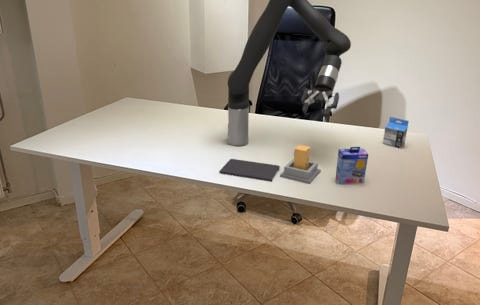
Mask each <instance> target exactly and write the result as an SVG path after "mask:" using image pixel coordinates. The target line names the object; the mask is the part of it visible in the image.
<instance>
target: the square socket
mask: <svg viewBox="0 0 480 305" xmlns="http://www.w3.org/2000/svg"><path fill="white" fill-rule="evenodd" d="M318 166H319V162H316V161H315V162H314V161H311V160H309V169H308V170H307V171H306V170H302V169H297V168H294V158H292V159H291V160H290V161H289V162H288V163H287V164H285V166H284V167H283V171H282V172H281V173H280V174H279V177H280V178H283V179H287V180H291V181H296V182H298V183H299V182H300V183H304V184H308V185H310V184H311V183H312V182H313V181H314V180H315V179H316V178H317V177H318V176H319V174H320V173H321V171H322V169H320V168H318Z"/></svg>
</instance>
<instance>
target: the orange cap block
mask: <svg viewBox="0 0 480 305" xmlns="http://www.w3.org/2000/svg"><path fill="white" fill-rule="evenodd" d="M310 155H311V146H307V145H302V144H299V145H298V146H295V148H294V152H293V159H294V168H297V169H302V170H306V171H307V170H308V169H309V161H310V159H311V158H310V157H311V156H310Z"/></svg>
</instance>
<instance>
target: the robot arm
mask: <svg viewBox="0 0 480 305" xmlns="http://www.w3.org/2000/svg"><path fill="white" fill-rule="evenodd" d="M288 7H290V8H292V9H293V11H295V13H297V15H298V16H299V17H300V18H301V20H302V21H303V22H304V24H306V26H307V27H308V28H309V29H310V30H311V31H312V33H313V34H314V35H315V36H316V37H317V38H318V39H319V40H321V41H325V40H328V41H329V42H328V44H327V45H326V46H325V51H324V53H325V54H324V61H323V63H322V66H321V68H320V71H319V73H318V75H317V78H316V81H315V84H314V86H313V89H312V90H311V89H309V88H307V87H306V88H305V89H304V91H303V93H302V96H301V97H300V101H301V104H302V105H303V106H302V113H303V114H304V115H306V114H307V112H308V109H309V105H311V104H314V103H315V102H316V103H322V104H324V103H325V104H326V107H325V111H324V113H323V116H324V118H327V117H329V116H330V114H331V110H332V109H333V110H335V109H337V107H338V103H339V99H340V94H339V92H335V93H333V92H334V89H335V86H336V84H337V82H338V81H337V80H338V77H339V73H340V69H341V66H342V59H341V57H340V56H342V55H343V54H345V53H347V52H348V51H349V50H350V49H351V47H352V42H351V40H350V37H349V36H347V34H345V33H344V32H343V31H341V30H339V29H338V28H336V27H334V26H333V25H332V24H331V23H330V22H329V21H328V20H327V18H325V16H324V15H323V14H322V13H321V12H320V11H319V10H318V9H317V8H315V6H313V4H312V3H311V2H309V1H308V0H269V1H268V3H267V5H266V6H265V9H264V10H263V12H262V14H261V15H260V17H259V18H258V20H257V21H256V23H255V25H254V26H253V29H252V30H251V33H250V35H249V36H248V39H247V41H246V43H245V46H244V49H243V51H242V56H241V57H240V60H239V62H238V64H237V65H236V67H235V69H234V70H233V71H232V72H230V74H229V75H228V78H227V89H228V90H227V91H228V92H227V93H228V94H227V95H228V96H227V97H228V98H227V99H228V100H227V107H228V109H227V112H228V113H227V116H228V117H227V121H228V122H227V144H228V145H231V146H234V147H243V146H246V145H248V144H249V121H250V120H249V116H250V112H249V111H250V110H249V109H250V107H249V105H250V102H249V101H250V82H251V80H252V78H253V75H254V72H255V70H256V69H257V67H258V65H259V63H260V62H261V61H262V59H263V58H264V56H265V55H266V52H267V51H268V49H269V47H270V46H271V44H272V42H273V40H274V38H275V36H276V34H277V31H278V30H279V29H278V28H279V26H280V23H281V21H282V18H283V16H284V14H285V13H286V11H287V9H288ZM331 98H332V99H333V101H332V103H331V102H330V99H331Z"/></svg>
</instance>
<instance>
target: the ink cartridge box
mask: <svg viewBox="0 0 480 305" xmlns="http://www.w3.org/2000/svg"><path fill="white" fill-rule="evenodd" d="M337 151H338V153H337V162H336V170H335V179H336V181H337V183H338V184H339V185H346V184H347V185H348V184H349V185H350V184H356V185H357V184H364V183H365V177H366V170H367V166H368V165H367V164H368V160H369V153H368V151H366V149H365V148H362V147H361V146H350V148H339V149H338V150H337Z"/></svg>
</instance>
